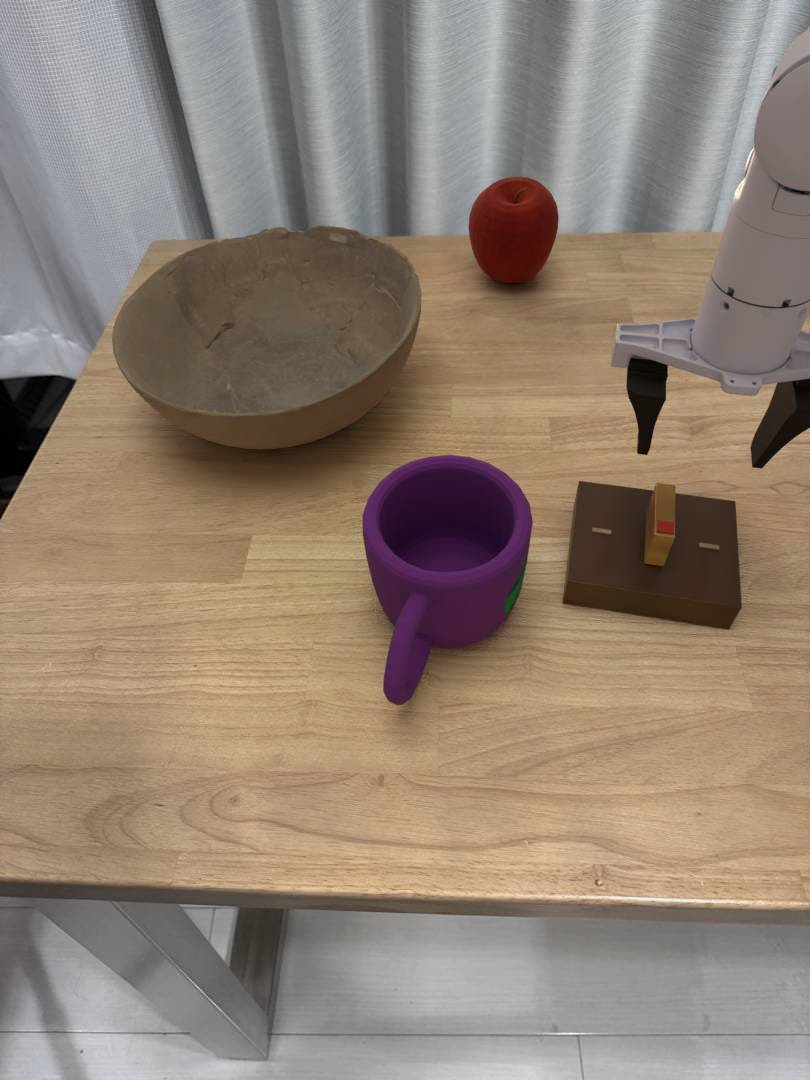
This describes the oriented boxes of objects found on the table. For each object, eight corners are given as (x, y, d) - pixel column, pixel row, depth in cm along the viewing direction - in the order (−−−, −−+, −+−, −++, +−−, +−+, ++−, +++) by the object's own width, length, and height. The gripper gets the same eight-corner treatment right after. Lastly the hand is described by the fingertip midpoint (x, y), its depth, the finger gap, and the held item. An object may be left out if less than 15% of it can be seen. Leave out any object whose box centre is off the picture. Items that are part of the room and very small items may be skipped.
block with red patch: (646, 512, 56) (656, 479, 53) (664, 515, 56) (676, 482, 53) (643, 564, 53) (655, 532, 50) (663, 567, 53) (676, 535, 50)
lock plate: (724, 524, 59) (736, 499, 56) (729, 629, 53) (742, 606, 50) (573, 504, 61) (579, 479, 58) (562, 603, 55) (567, 579, 52)
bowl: (453, 323, 77) (453, 234, 69) (377, 517, 61) (366, 430, 53) (218, 293, 83) (194, 208, 75) (92, 464, 67) (44, 379, 59)
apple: (460, 294, 80) (461, 206, 72) (475, 248, 86) (478, 161, 78) (546, 302, 78) (557, 213, 70) (556, 254, 84) (567, 166, 76)
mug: (403, 524, 60) (395, 437, 52) (537, 556, 58) (550, 470, 50) (319, 708, 51) (294, 636, 43) (476, 759, 48) (481, 691, 40)
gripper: (627, 309, 39) (590, 479, 50) (922, 334, 37) (815, 507, 47) (632, 239, 43) (596, 410, 54) (897, 257, 41) (804, 433, 52)
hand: (698, 451), depth 51 cm, fingers open, 7 cm apart
